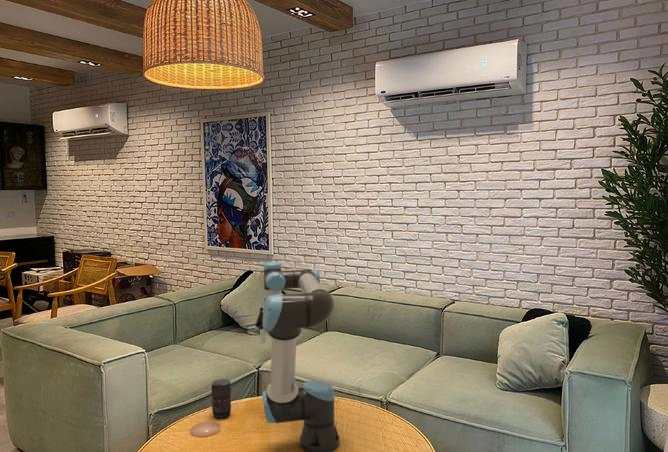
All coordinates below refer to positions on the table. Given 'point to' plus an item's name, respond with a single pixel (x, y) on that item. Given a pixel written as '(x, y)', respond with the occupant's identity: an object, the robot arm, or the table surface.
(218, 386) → the camera lens
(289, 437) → the table surface
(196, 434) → the plate
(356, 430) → the table surface
